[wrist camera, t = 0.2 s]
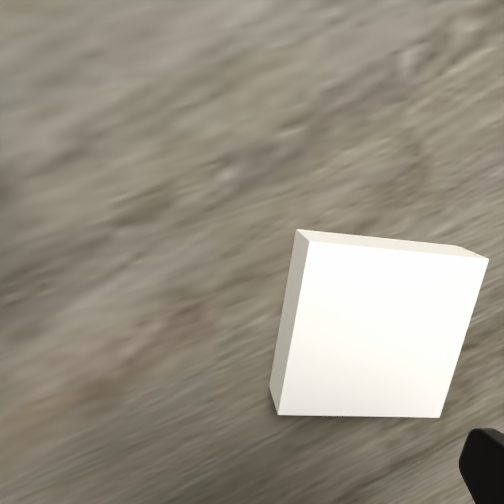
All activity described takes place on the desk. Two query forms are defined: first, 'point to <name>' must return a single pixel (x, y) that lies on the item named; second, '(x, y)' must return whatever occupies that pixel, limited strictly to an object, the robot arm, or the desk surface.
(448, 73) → the desk surface
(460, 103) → the desk surface
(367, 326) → the off-white block
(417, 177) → the desk surface
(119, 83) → the desk surface
